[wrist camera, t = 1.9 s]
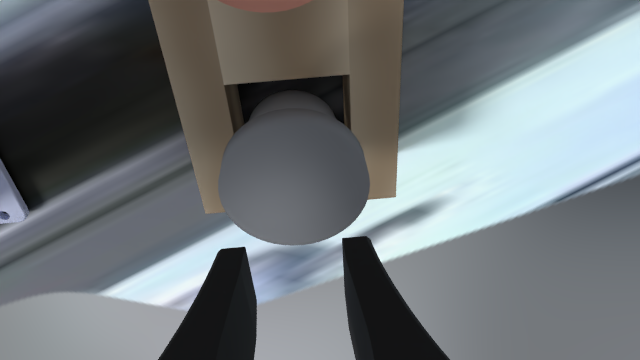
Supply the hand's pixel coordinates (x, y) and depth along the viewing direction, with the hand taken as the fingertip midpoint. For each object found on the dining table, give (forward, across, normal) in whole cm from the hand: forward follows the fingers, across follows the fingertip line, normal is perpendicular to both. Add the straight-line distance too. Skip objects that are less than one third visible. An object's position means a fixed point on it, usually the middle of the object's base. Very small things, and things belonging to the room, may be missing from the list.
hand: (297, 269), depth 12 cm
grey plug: (+7, 0, 0) cm, 7 cm away
